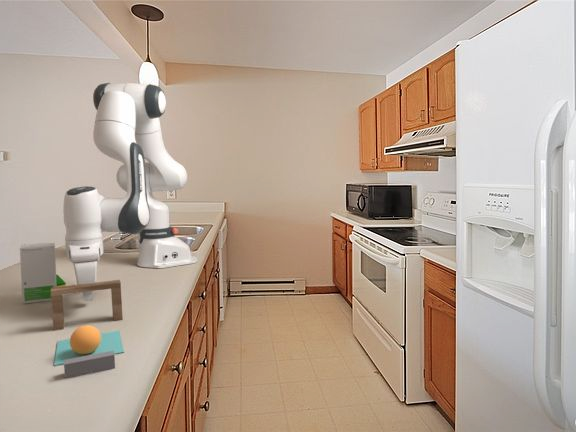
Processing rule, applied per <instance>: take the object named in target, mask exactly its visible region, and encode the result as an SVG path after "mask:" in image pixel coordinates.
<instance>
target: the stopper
mask: <svg viewBox="0 0 576 432" xmlns="http://www.w3.org/2000/svg"><path fill="white" fill-rule="evenodd" d="M63 368H64V369H63V370H64V379H67V378H73V377H74V378H75V377H77V376H83V375H88V374H93V373H97V372H103V371H107V370H112V369H116V362H115V355H114V351H109V352H103V353H98V354H93V355H87V356H82V357H77V358H71V359H66V360H64V364H63Z"/></svg>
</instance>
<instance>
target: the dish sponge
mask: <svg viewBox="0 0 576 432" xmlns="http://www.w3.org/2000/svg"><path fill="white" fill-rule="evenodd" d="M56 284H57V287H61V286H67V285H66V284H67V283H66V282H65V280H64V279H63V278H62V277H61V276H59V274H56Z"/></svg>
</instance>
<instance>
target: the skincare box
mask: <svg viewBox="0 0 576 432" xmlns="http://www.w3.org/2000/svg"><path fill="white" fill-rule="evenodd" d="M19 256H20V261H19V262H20V279H21V281H20V282H21V295H22V296H21V298H22V304H23V305H25V304H30V303H31V304H32V303H39V302H47V301H48V302H49V301H51V288H52V287H57V284H56V275H57V268H56V267H57V266H56V263H57V262H56V243H55V242H47V243H46V242H45V243H43V242H42V243H25V244H24V243H22V244H21V246H20V248H19Z"/></svg>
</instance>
